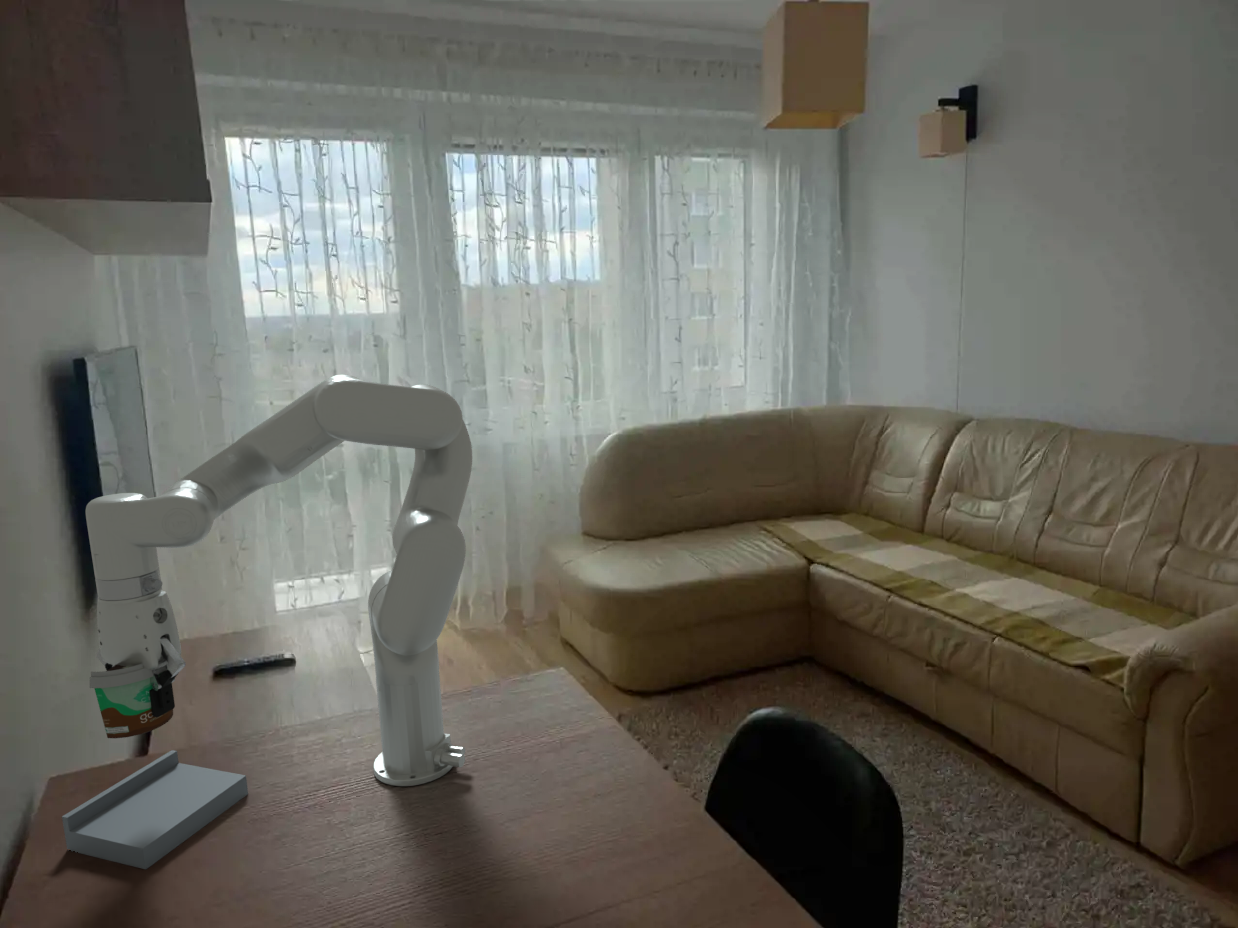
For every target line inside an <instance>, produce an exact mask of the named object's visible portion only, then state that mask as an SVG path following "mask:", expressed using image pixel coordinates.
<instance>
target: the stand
mask: <svg viewBox="0 0 1238 928" xmlns="http://www.w3.org/2000/svg"><path fill="white" fill-rule="evenodd" d="M178 755H179V754H178V750H173V749H172V750H170V751H168V752H166V753H164V754H162V755H161V756H160V757H158V758H157V759H155V760H153V761H152V762H150V763H148V764H147V765H145V766H143V767H141V768H140V769H138V770H136V771H135V772H133V773H132V774H130V775H128V776H126V777H125V778H123V779H122V780H119V782H117V783H115V784H114V785H111V786H110V787H108V788H107V789H105V790H103V791H102V792H100V793H98V794H97V795H95V796H94V797H92V798H90V799H89V800H87V801H85V802H84V803H82V804H80V805H78V806H77V807H76V808H73V809H72V810H70V811H69V812H67V813H65V814H63V815H62V816H61V821H62V825H63V831H64V838H65V844H66V849H70V850H71V851H70V852H73V851H75V852H74V853H77V852H78V853H77V854H82V855H85V856H90V857H94V858H98V859H101V860H106V861H110V862H113V863H118V864H122V865H125V866H131V867H134V868H139V869H143V870H148V869H149V868H150V867H151V866H153V865H154V864H155V863H157V862H158V861H159V860H161V859H163V857H165V856H166V855H168V854H169V853H170V852H172V851H173V850H175V848H177V847H178V846H180V845H181V844H182V843H184V842H185V841H186V840H188V839H190V837H192V836H193V835H195V834H196V833H198V832H199V831H200V830H201V829H203V828H204V827H205V826H208V824H209V823H211V822H212V821H214V820H215V819H216V818H218V817H219V816H220V815H222V814H223V813H225V812H226V811H228V810H229V809H231V808H232V806H234V805H236V803H238V802H239V801H241V800H242V799H244V798H245V797H247V796H248V795H249V789H248V780H247V775H245V774H241V773H234V772H229V771H224V770H219V769H215V768H207V767H203V766H198V765H191V764H187V763H181V762H179V756H178Z"/></svg>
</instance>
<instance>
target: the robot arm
mask: <svg viewBox="0 0 1238 928" xmlns="http://www.w3.org/2000/svg"><path fill="white" fill-rule="evenodd" d="M345 441H346V442H351V443H360V444H364V445H371V446H373V445H374V446H383V447H395V448H405V449H414V464H413V468H412V473H411V476H410V480H409V484H408V487H407V491H406V494H405V496H404V500H403V501H402V505H401V509H400V511H399V514H398V517H397V519H396V522H395V525H394V528H393V531H392V539H391V540H392V546H393V549H394V551H395V553H396V557H395V560H394V563H393V567H392V569H391V570H389V571H387V572H384V573H383V574H382V575H381V576H379V577H378V578H377V580H376V581H375V582H374V583H373V585H372V587H371V589H370V592H369V595H368V603H367V606H368V607H367V609H368V618H369V624H370V632H371V634H370V635H371V640H372V649H373V659H374V669H375V670H374V671H375V684H376V694H377V695H376V696H377V707H378V708H377V709H378V717H379V728H380V729H379V730H380V738H381V749H382V750H381V751H382V752H380V753H379V754H378V755H377V757H376V758H375V759H374V761H373V764H372V767H373V774H374V776H375V778H376V779H377V780H379V781H380V783H384V784H386V785H389V786H393V787H394V786H395V787H410V786H411V787H413V786H418V785H423V784H427V783H430V782H433V781H435V780H437V779H439V778H441V777H443V776H444V775H446V774H447V773H448V772H450V770H451V769H452V768H453V767H457V768H463V766H464V765H465V762H466V761H465V760H466V755H465V754H466V747H465V746H459V745H456V746H455V745H453V744H452V742H451V734H450V733H445V732H444V717H443V704H442V692H441V691H442V690H441V689H442V688H441V679H440V660H439V651H438V650H439V649H438V639H439V637H440V636H441V633H442V632H443V629H444V627H445V624H446V622H447V619H448V616H449V613H450V610H451V608H452V607H451V606H452V604H453V601H454V598H455V595H456V591H457V588H458V586H459V581H460V580H461V576H462V572H463V569H464V566H465V561H466V551H467V548H466V547H467V546H466V539H465V536H464V534H463V532H462V531H461V529H460V527H459V519H460V517H461V513H462V509H463V504H464V502H465V498H466V494H467V490H468V486H469V482H470V479H471V476H472V475H471V474H472V469H473V449H472V448H473V447H472V442H471V438H470V433H469V431H468V429H467V426H466V424H465V421H464V419H463V412H462V409H461V406H460V405H459V403H458V402H457V400H456V399H455V398H454V397H453V396H452V395H450V394H449V393H447V392H446V391H444V390H442V389H440V388H438V387H436V386H434V385H431V384H423V383H421V384H416V385H412V386H403V385H394V384H387V383H382V382H381V383H380V382H374V381H368V380H362V379H360V378H357V377H355V376H353V375H349V374H336V375H333V376H330V377H328V378H326V379H324V380H323V381H321V382H319V383H318V384H317V385H316V386H314V387H312V388H311V389H310V390H308V391H306V392H305V393H303V394H301V396H299V397H297V399H295V400H294V401H292V402H290V403H288V405H286V406H284V407H283V408H282V409H280V410H279V411H277V412H276V413H274V414H273V415H271V416H270V417H269V418H268V417H267V419H266V420H264V421H263V422H261V423H259V424H258V425H256V426H255V427H253V428H252V429H251V430H249V431H247V432H246V433H245V434H243V435H242V436H241V437H240V438H238V439H237V440H236V441H235V442H234V443H232V444H231V445H229V446H228V447H226V448H224V449H223V450H221V451H220V452H218V453H217V454H215V455H214V456H212V457H211V458H210V459H209V458H208V460H206V461H205V462H204V463H201V465H199V466H197V467H196V468H195V469H193V470H192V471H190V472H189V473H187V474H186V475H184V476H182V477H181V478H179V479H178V480H177V481H175V482H174V483H173V484H171V485H170V486H169V487H168V488H166V490H164V492H162V494H161V495H158V496H155V497H147V495H144V494H142V493H137V492H121V493H113V494H108V495H103V496H99V497H95V498H94V499H91V500H90V501H88V503H87V504H86V506H85V519H86V526H87V532H88V539H89V545H90V546H89V547H90V552H91V559H92V565H93V572H94V578H95V579H94V580H95V585H96V592H97V601H96V602H97V603H96V622H97V623H96V624H97V625H96V626H97V637H98V644H99V645H98V647H99V649H98V650H97V652H96V654H95V656H96V658H97V660H98V661H99V662H100V663H101V664H102V665H103V666H104V668H105V671H107V670H109V669H110V668H112V667H113V666H115V665H121V666H126V667H132V666H136V665H139V664H143V667H144V668H145V669H147V670H151V671H152V673H153V677H150V683H151V685H152V688H153V689H151V690H149V693H150V700H151V709H152V715H153V717H159V716H161V715H163V714H165V713H167V712H169V711H170V710H172V709H173V710H174V709H175V707H176V703H175V698H174V697H175V695H174V690H173V683H174V682H175V681H176V678H177V676H178V675H179V673H180V672H181V671H182V670H183V669H184V668H185V667H186V661H185V660H184V659H183V657H182V646H181V641H180V640H181V639H180V634H179V630H178V625H177V621H176V617H175V613H174V610H173V607H172V603H171V600H170V598H169V596H168V593H167V591H164V590H163V581H162V579H161V573H160V566H159V558H158V551H157V548H164V549H165V548H169V549H171V548H172V549H174V548H175V549H177V548H181V549H182V548H187V547H191V546H194V545H196V544H199V543H200V542H202V541H203V540H204V539H206V537H207V536H208V535H209V533H210V532H211V530H212V526H213V524H214V521H215V520H216V519H217V518H219V517H220V516H222V515H223V514H224V513H226V512H227V511H228V510H229V509H231V508H233V507H234V506H235V505H237V504H239V503H240V502H241V501H243V500H245V499H246V498H248V497H249V496H250V495H253V494H254V493H255V492H257V491H259V490H261V489H262V488H265V487H268V486H271V485H274V484H280V483H284V482H286V481H288V480H289V479H292V478H294V477H295V476H297V475H298V474H299V473H301V472H302V471H303V470H305V469H307V468H308V467H309V466H311V465H312V464H313V463H315V462H316V461H318V460H319V459H320V458H322V457H323V456H325V455H326V454H328V453H329V452H330V451H331V450H333V449H334V448H336V447H338V446H339V445H340V444H342V443H344V442H345ZM162 656H163V659H165V661H164V662H162V663H160V664H158V659H160V657H162ZM164 666H166V669H167V670H165V671H163V673H162V674H161V675H160V677H158V674H157V672H156V670H157V669H159V668H162V667H164Z"/></svg>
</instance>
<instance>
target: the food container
mask: <svg viewBox="0 0 1238 928" xmlns="http://www.w3.org/2000/svg"><path fill="white" fill-rule="evenodd" d="M164 661H165V659H163V656H162V657H160V659H158V664H160V663H162V662H164ZM165 670H167V669H166V666H164V667H162V668H159V669H157V670H156V672H157V674H158V677H160V675H161V674H162V673H163V671H165ZM150 677H153V673H152V671H151V670H147V669H145V668H144V667H143V664H139V665H136V666H132V667H126V666H121V665H115V666H113V667H112V668H110V669H109V670H104V671H90V677H89V688H90V689H94V693H95V696H96V699H97V704H98V707H99V710H100V711H99V712H100V714H101V718H102V722H103V726H104V730H105V733H106V738H107V739H122V738H123V739H125V738H130V737H135V736H140V735H143V734H146V733H149V732H151V731H154V730H156V729H158V728H161V727H162V726H164V725H166V723H168V722H170V720H172V718H173V717H174V709H172V710H170V711H169V712H167V713H165V714H163V715H161V716H159V717H153V715H152V709H151V700H150V693H149V690H151V689H153V688H152V685H151V683H150Z"/></svg>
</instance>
